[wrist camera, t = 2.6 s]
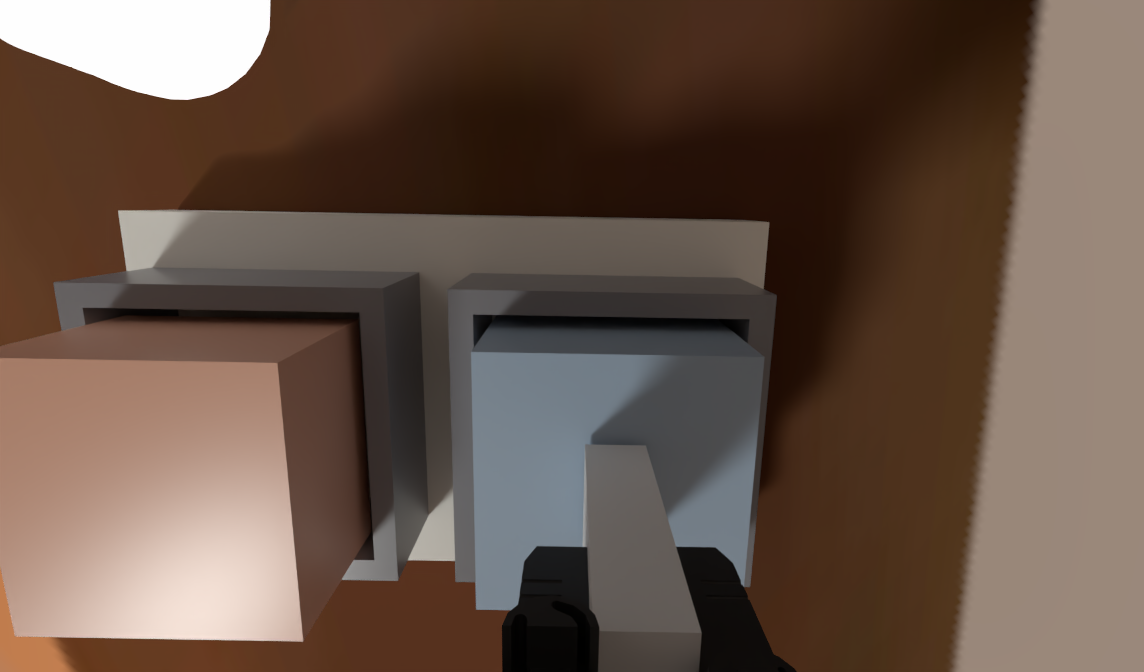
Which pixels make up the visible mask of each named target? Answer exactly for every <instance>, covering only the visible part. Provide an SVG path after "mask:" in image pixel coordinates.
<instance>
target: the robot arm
mask: <svg viewBox="0 0 1144 672" xmlns="http://www.w3.org/2000/svg"><path fill="white" fill-rule="evenodd" d="M502 666H503V672H796V670H795V669H794V668H793V667H792V666H790V665H789V664H788V663H786V662H785V661H784V660H782V659H781V658H780V657H778V656H776V655H774V654H773V652H772V650H771V648H770V645H769V643H768V641H767V639H766V636H765V634H764V632H763V630H762V627H761V625H760V623H759V620H758V618H757V616H756V614H755V611H754V609H753V607H752V605H751V602H750V600H748V596H747V593H746V591H745V589H744V587H743V585H741V580H740V578H739V575H738V573H737V571H736V569H735V566H734V564H733V563H732V562H731V561H730V560H729V559H728V558H727V557H726V556H725V555H724V554H722V553H721V552H720V551H719V550H718V549H717V548H716V547H676V545H675V542H674V538H673V535H672V532H671V528H670V525H669V521H668V518H667V515H666V511H665V508H664V505H663V501H662V498H661V495H660V491H659V488H658V485H657V481H656V478H655V474H654V471H653V468H652V464H651V461H650V458H649V454H648V451H647V448H646V445H592V444H585V460H584V503H583V547H562V546H536V548H535V549H534V550H533V551H532V552H531V554H530V555H529V556H528V557H527V558H526V560H525V561H524V566H523V573H522V582H521V587H520V595H519V601H518V605H517V606H516V607H514V608H513V609H512V610H511V611H510V612H509V613H508V614H507V616H506V618H505V620H504V623H503V625H502Z"/></svg>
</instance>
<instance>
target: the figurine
mask: <svg viewBox="0 0 1144 672" xmlns="http://www.w3.org/2000/svg"><path fill="white" fill-rule="evenodd" d="M269 24H270V0H0V38H1V39H2V40H4V41H6V42H7V43H9V44H11V45H13V46H16V47H18V48H20V49H23V50H25V51H28V52H30V53H33V54H36V55H39V56H42V57H44V58H47V59H50V60H53V61H56V62H59V63H61V64H64V65H67V66H70V67H72V68H75V69H78V70H80V71H83V72H86V73H89V74H92V75H95V76H97V77H99V78H101V79H104V80H106V81H108V82H111V83H113V84H116V85H119V86H121V87H124V88H127V89H130V90H134V91H137V92H141V93H145V94H149V95H153V96H158V97H163V98H167V99H185V100H189V99H194V98H199V97H204V96H209V95H212V94H215V93H217V92H219V91H222V90H224V89H226V88H228V87H229V86H231V85H232V84H233V83H234V82H236V81H237V80H238V79H239V78H241V77H242V76H243V75H245V74H246V72H247V71H248V70H249V68H250V67H251V66H252V64H253V63H254V61H255V60H256V59H257V57H258V56H259V55H260V53H261V50H262V48H263V45H264V42H265V40H266V37H267V35H268V32H269Z"/></svg>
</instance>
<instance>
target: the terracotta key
mask: <svg viewBox="0 0 1144 672" xmlns="http://www.w3.org/2000/svg"><path fill="white" fill-rule="evenodd" d="M370 533H371V514H370V498H369V482H368V465H367V449H366V433H365V417H364V400H363V384H362V368H361V351H360V335H359V319H304V318H247V317H190V316H133V315H124V316H120V317H116V318H112V319H108V320H104V321H100V322H96V323H92V324H88V325H84V326H80V327H76V328H72V329H68V330H64V331H60V332H56V333H52V334H48V335H43V336H39V337H35V338H31V339H27V340H23V341H19V342H15V343H11V344H7V345H3V346H0V568H1V572H2V577H3V582H4V586H5V591H6V596H7V600H8V605H9V610H10V615H11V619H12V624H13V628H14V633H15V636H28V637H29V636H31V637H33V636H34V637H85V638H142V639H199V640H256V641H304V639H305V638H306V636H307V634H308V633H309V631H310V630H311V628H312V626H313V625H314V623H315V621H316V620H317V618H318V617H319V615H320V613H321V612H322V610H323V609H324V607H325V605H326V604H327V602H328V601H329V599H330V597H331V596H332V594H333V592H334V591H335V589H336V588H337V586H338V584H339V583H340V581H341V580H342V578H343V576H344V575H345V573H346V571H347V570H348V568H349V567H350V565H351V563H352V562H353V560H354V559H355V557H356V555H357V554H358V552H359V550H360V549H361V547H362V546H363V544H364V542H365V541H366V539H367V538H368V536H369V534H370Z"/></svg>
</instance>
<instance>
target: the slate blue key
mask: <svg viewBox="0 0 1144 672" xmlns="http://www.w3.org/2000/svg"><path fill="white" fill-rule="evenodd" d="M764 358H765V357H764V356H763V355H761V354H760V353H759V352H758V351H756V350H755V349H754V348H753V347H751V346H750V345H749V344H748V343H746V342H745V341H744V340H743V339H741V338H740V337H739V336H738V335H736V334H735V333H734V332H733V331H731V330H730V329H729V328H728V327H727V326H725V325H724V324H723V323H722V322H720V321H719V320H718V319H703V318H646V317H589V316H532V315H496V317H495V318H494V320H493V321H492V323H491V324H490V326H489V327H488V328H487V330H486V331H485V333H484V334H483V336H482V337H481V338H480V340H479V341H478V343H477V344H476V346H475V347H474V348H473V350H472V351H471V376H472V425H473V475H474V525H475V575H476V609H477V610H512V609H513V608H514V607H516V606H517V605H518V601H519V595H520V587H521V582H522V573H523V566H524V561H525V560H526V558H527V557H528V556H529V555H530V554H531V552H532V551H533V550H534V549H535V548H536V546H562V547H583V503H584V460H585V444H592V445H646V448H647V451H648V454H649V458H650V461H651V464H652V468H653V471H654V474H655V478H656V481H657V485H658V488H659V491H660V495H661V498H662V501H663V505H664V508H665V511H666V515H667V518H668V521H669V525H670V528H671V532H672V535H673V538H674V542H675V545H676V547H716V548H717V549H718V550H719V551H720V552H721V553H722V554H724V555H725V556H726V557H727V558H728V559H729V560H730V561H731V562H732V563H733V564H734V566H735V569H736V571H737V573H738V575H739V578H740V580H741V585H743V587H744V581H745V570H746V559H747V547H748V536H749V525H750V514H751V503H752V492H753V481H754V469H755V458H756V447H757V436H758V425H759V414H760V403H761V392H762V380H763V369H764Z"/></svg>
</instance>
